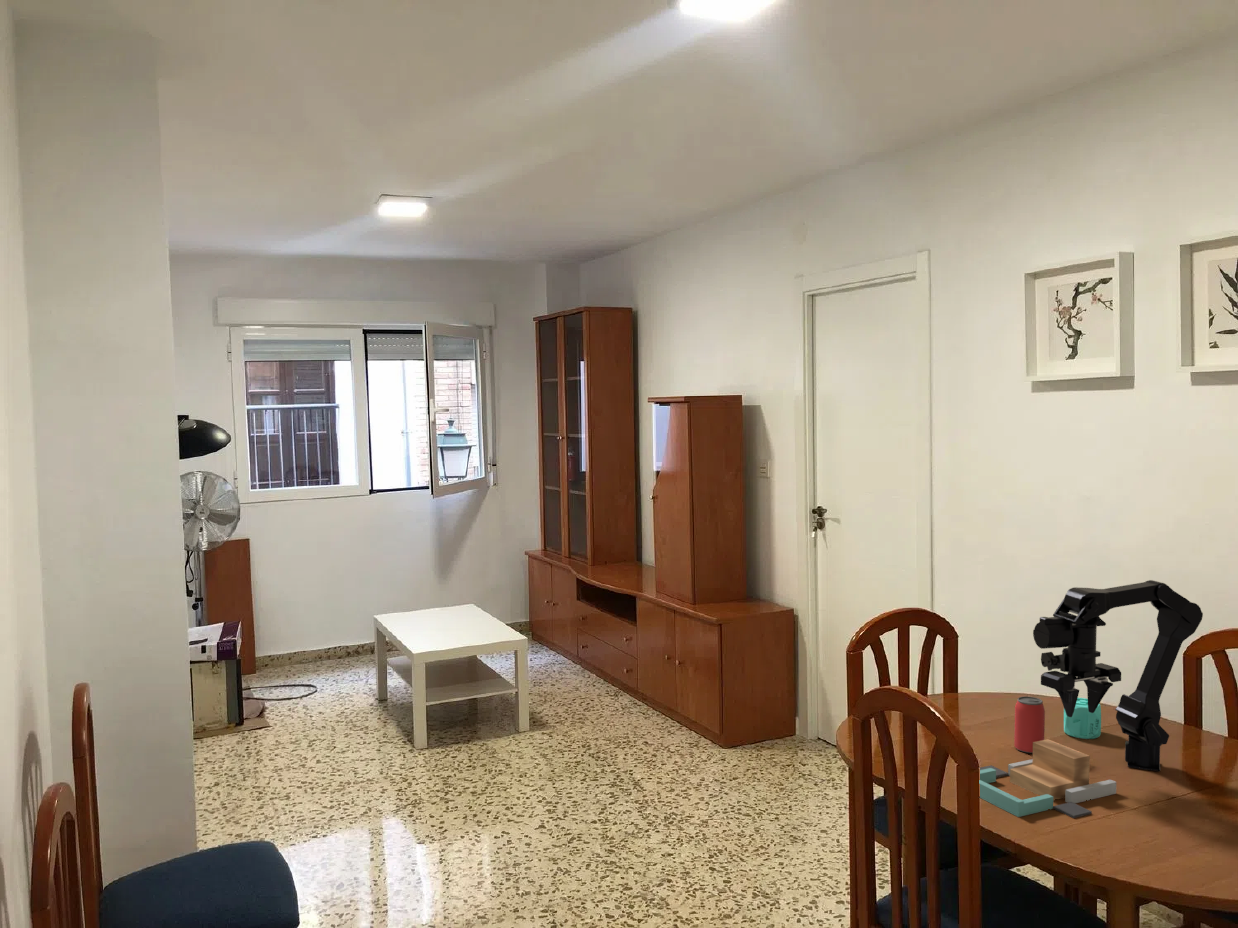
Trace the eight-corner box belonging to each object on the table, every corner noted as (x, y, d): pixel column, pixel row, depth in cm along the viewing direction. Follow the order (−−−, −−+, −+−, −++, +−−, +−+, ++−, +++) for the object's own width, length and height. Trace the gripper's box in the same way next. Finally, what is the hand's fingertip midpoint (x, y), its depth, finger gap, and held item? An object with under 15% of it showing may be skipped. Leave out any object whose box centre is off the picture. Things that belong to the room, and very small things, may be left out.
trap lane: (1034, 758, 226) (1034, 745, 225) (1137, 802, 201) (1137, 788, 201) (941, 777, 215) (941, 764, 214) (1037, 826, 190) (1038, 811, 190)
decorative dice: (1064, 736, 240) (1065, 705, 239) (1063, 726, 247) (1064, 695, 246) (1100, 740, 236) (1101, 708, 236) (1098, 730, 244) (1099, 699, 243)
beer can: (1047, 754, 228) (1048, 704, 227) (1017, 753, 229) (1018, 703, 228) (1040, 745, 234) (1041, 696, 233) (1011, 743, 235) (1012, 694, 234)
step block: (1047, 774, 216) (1048, 739, 216) (1088, 792, 206) (1089, 755, 206) (1009, 782, 212) (1010, 746, 211) (1050, 801, 202) (1051, 763, 201)
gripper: (1082, 633, 227) (1080, 698, 228) (1022, 641, 219) (1020, 709, 220) (1123, 644, 216) (1122, 712, 218) (1062, 653, 209) (1060, 724, 210)
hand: (1080, 714), depth 217 cm, fingers open, 6 cm apart
